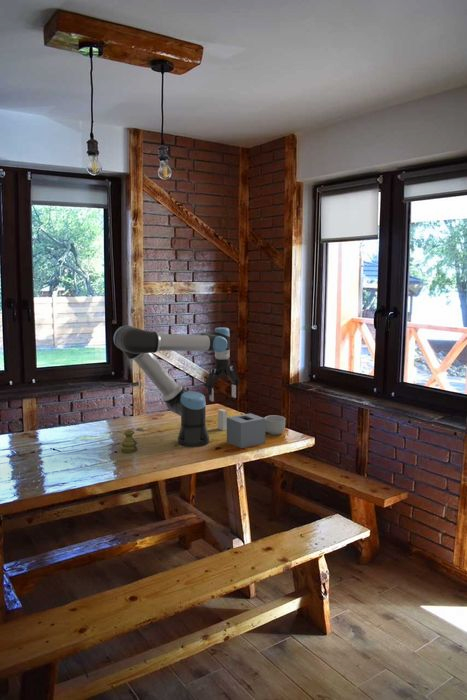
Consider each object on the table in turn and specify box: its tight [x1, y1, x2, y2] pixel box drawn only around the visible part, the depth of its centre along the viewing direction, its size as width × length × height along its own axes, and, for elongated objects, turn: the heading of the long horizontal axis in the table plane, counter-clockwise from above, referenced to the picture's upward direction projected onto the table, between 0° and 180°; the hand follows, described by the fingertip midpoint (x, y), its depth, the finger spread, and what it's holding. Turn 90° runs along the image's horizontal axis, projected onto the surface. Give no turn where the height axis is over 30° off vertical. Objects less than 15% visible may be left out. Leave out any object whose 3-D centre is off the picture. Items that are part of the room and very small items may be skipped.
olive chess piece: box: [120, 428, 138, 454], centre depth 263 cm, size 7×7×10 cm
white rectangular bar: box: [217, 408, 228, 431], centre depth 299 cm, size 2×5×10 cm, turn 34°
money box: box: [226, 412, 266, 449], centre depth 276 cm, size 14×12×12 cm
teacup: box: [264, 414, 286, 436], centre depth 292 cm, size 14×11×8 cm
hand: (222, 399), depth 297 cm, fingers open, 13 cm apart
